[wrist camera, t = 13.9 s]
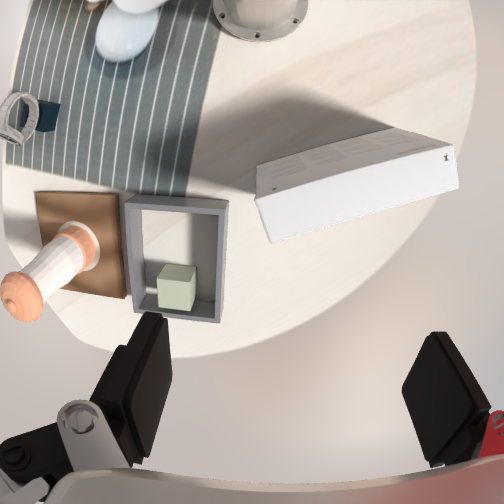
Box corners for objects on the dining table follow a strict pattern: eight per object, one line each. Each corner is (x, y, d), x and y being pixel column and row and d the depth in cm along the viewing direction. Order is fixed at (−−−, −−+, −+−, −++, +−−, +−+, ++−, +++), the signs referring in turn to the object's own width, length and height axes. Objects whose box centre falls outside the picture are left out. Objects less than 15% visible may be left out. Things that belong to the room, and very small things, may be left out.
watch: (29, 135, 42) (-15, 146, 32) (38, 89, 39) (-6, 91, 29) (52, 141, 42) (9, 153, 32) (63, 93, 39) (19, 94, 29)
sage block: (165, 263, 50) (156, 278, 46) (196, 266, 50) (189, 282, 46) (167, 290, 53) (158, 307, 48) (196, 293, 53) (190, 311, 48)
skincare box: (267, 201, 46) (268, 246, 31) (255, 165, 44) (249, 193, 29) (404, 162, 42) (461, 189, 28) (396, 126, 40) (454, 138, 26)
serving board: (39, 191, 46) (35, 193, 45) (118, 193, 46) (114, 195, 45) (54, 283, 53) (50, 287, 52) (126, 295, 53) (124, 299, 52)
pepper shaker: (84, 273, 50) (23, 341, 33) (54, 246, 49) (-14, 305, 31) (102, 245, 48) (37, 312, 31) (71, 216, 46) (-5, 271, 29)
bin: (136, 194, 46) (124, 202, 42) (229, 200, 46) (225, 209, 42) (142, 297, 53) (133, 312, 49) (223, 307, 53) (219, 323, 49)
